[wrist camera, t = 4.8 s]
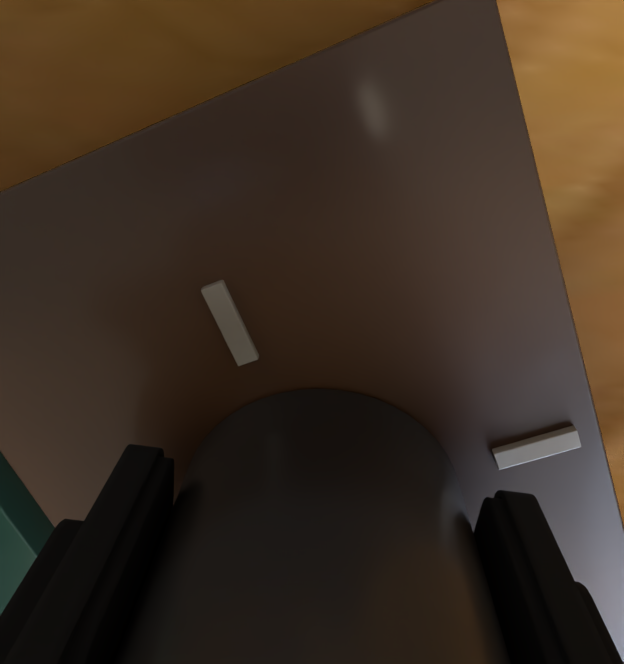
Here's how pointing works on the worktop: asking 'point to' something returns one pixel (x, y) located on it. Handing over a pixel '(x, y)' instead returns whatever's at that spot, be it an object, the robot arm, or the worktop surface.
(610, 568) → the dial panel
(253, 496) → the dial
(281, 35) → the worktop surface
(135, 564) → the robot arm
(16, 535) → the button box
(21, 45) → the worktop surface
